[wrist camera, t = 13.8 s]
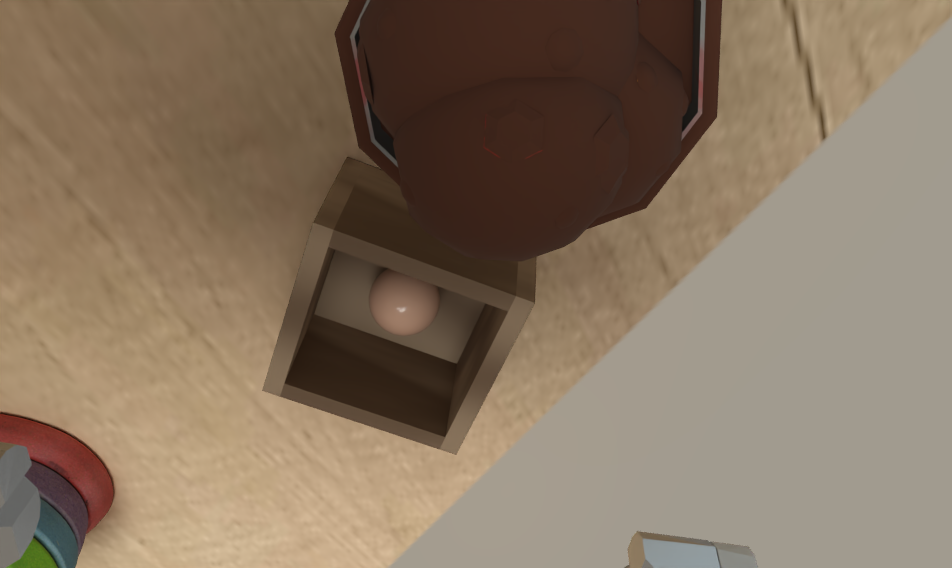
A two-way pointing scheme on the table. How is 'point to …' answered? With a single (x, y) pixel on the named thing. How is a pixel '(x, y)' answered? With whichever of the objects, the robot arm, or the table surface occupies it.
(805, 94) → the table surface
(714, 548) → the robot arm
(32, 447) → the stacking bear
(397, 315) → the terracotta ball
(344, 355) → the walnut box
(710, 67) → the ice cream bowl
